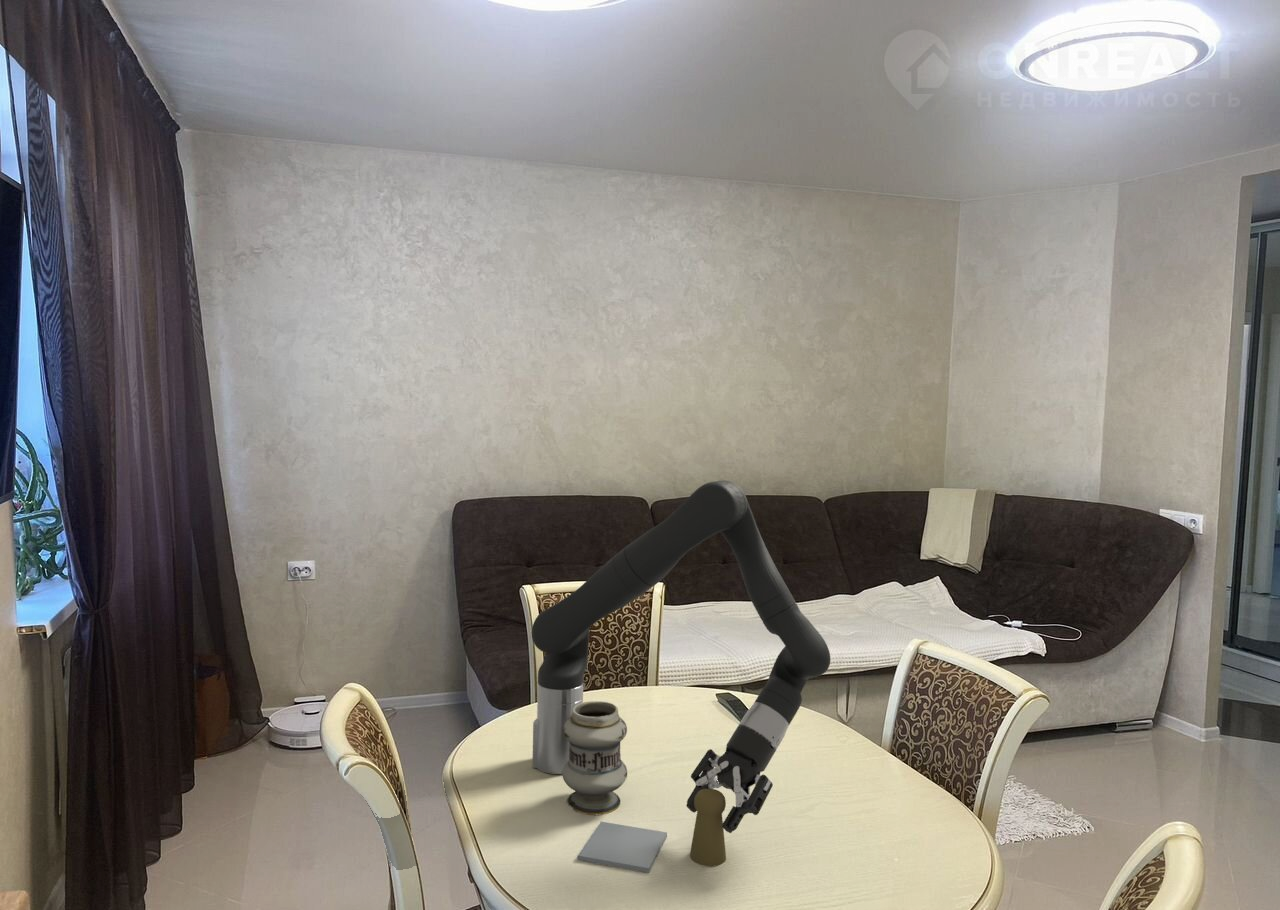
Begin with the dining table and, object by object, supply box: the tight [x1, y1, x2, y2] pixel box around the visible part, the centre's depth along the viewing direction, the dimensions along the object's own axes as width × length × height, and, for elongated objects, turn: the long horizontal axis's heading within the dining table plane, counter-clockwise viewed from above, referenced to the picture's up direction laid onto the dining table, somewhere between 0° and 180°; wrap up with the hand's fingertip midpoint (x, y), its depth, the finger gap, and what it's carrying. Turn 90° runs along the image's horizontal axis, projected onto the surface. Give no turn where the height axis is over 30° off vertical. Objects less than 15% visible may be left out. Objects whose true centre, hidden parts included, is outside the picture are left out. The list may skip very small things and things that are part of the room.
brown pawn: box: [689, 788, 727, 867], centre depth 144 cm, size 6×6×11 cm
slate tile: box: [577, 821, 668, 874], centre depth 147 cm, size 12×12×1 cm
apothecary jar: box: [561, 700, 628, 816], centre depth 162 cm, size 12×12×18 cm
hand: (707, 819), depth 144 cm, fingers open, 8 cm apart
